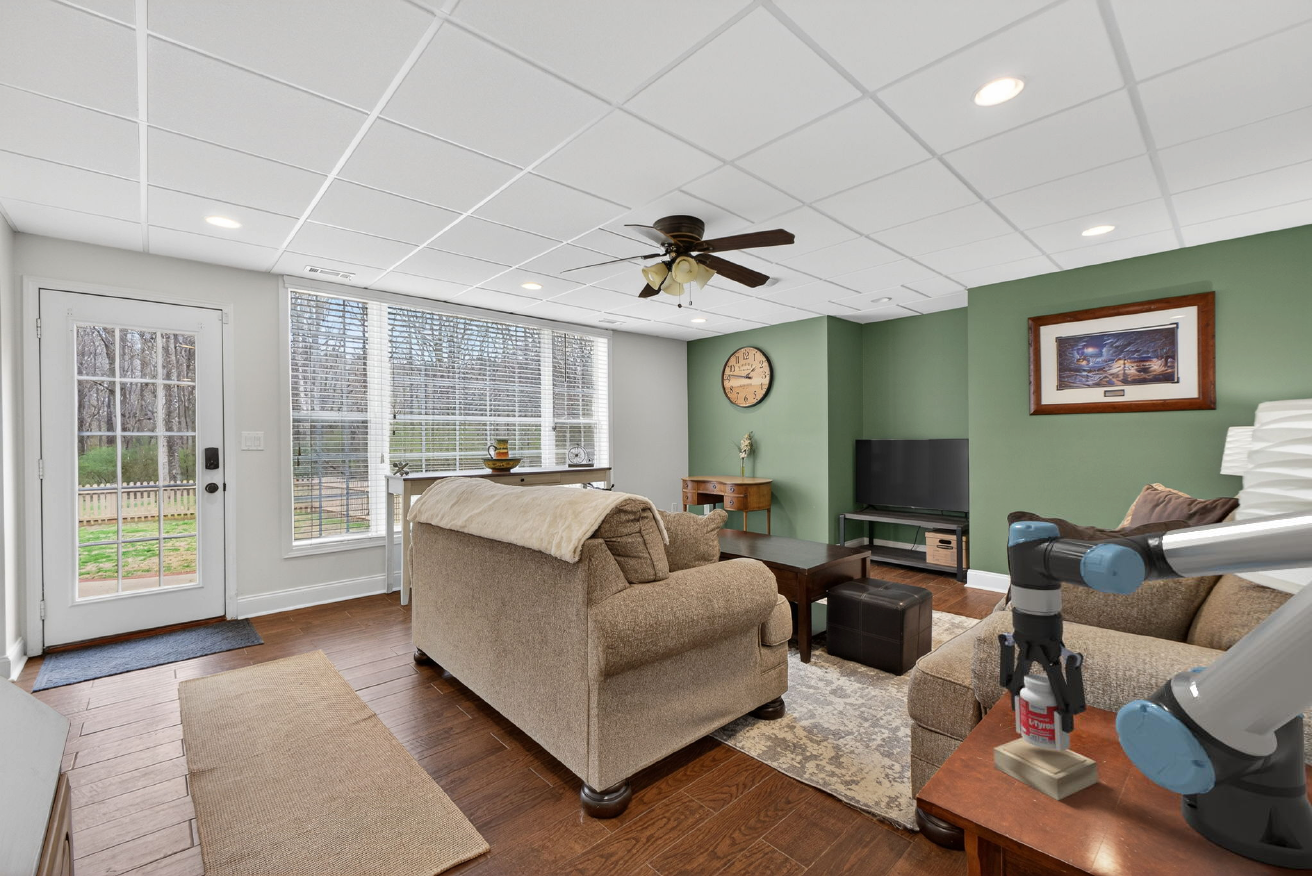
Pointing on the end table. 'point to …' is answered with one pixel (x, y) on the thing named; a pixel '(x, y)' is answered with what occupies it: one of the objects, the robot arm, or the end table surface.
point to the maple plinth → (1046, 768)
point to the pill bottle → (1038, 711)
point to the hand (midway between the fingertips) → (1042, 739)
